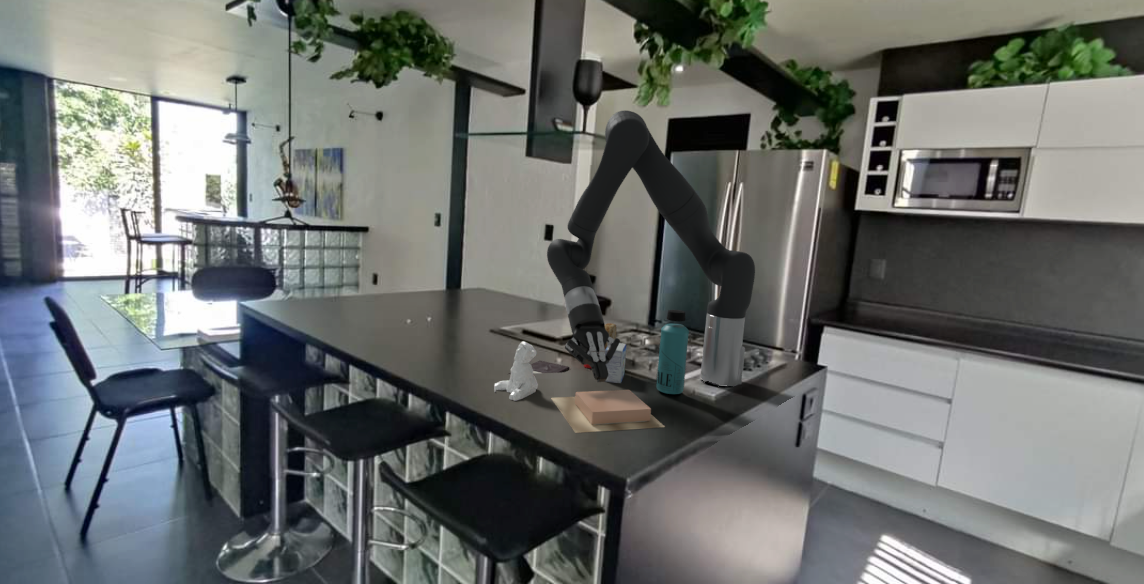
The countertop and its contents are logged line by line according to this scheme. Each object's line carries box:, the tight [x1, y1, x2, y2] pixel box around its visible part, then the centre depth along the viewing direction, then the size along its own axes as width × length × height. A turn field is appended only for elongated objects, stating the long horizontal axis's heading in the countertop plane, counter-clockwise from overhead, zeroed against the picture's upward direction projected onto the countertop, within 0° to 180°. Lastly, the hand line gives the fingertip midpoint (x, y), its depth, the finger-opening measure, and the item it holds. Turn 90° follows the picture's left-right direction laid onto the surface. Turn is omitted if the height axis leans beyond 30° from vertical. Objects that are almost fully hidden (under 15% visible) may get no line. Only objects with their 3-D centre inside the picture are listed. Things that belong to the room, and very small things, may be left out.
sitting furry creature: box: [493, 340, 539, 402], centre depth 115 cm, size 10×9×12 cm
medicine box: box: [605, 342, 627, 384], centre depth 129 cm, size 8×4×9 cm, turn 168°
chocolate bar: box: [508, 360, 570, 375], centre depth 132 cm, size 9×1×18 cm
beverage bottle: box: [655, 309, 690, 395], centre depth 120 cm, size 6×7×20 cm
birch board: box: [550, 396, 666, 434], centre depth 107 cm, size 18×18×1 cm
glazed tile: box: [574, 389, 652, 425], centre depth 106 cm, size 12×3×11 cm
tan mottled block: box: [604, 322, 617, 354], centre depth 149 cm, size 10×4×10 cm, turn 162°
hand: (602, 380), depth 111 cm, fingers closed
